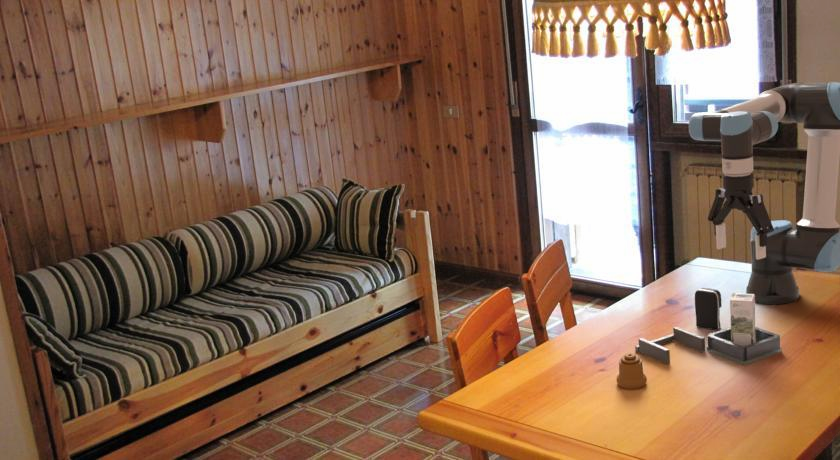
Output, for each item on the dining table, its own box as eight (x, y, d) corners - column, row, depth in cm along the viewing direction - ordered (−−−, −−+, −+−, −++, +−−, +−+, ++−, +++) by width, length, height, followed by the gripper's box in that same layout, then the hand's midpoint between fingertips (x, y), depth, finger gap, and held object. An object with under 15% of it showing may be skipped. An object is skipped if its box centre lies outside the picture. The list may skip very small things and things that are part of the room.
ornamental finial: (652, 381, 236) (637, 392, 231) (626, 376, 241) (611, 386, 236) (650, 352, 234) (635, 363, 229) (624, 347, 239) (609, 357, 234)
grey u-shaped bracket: (673, 338, 262) (672, 325, 261) (705, 351, 251) (704, 337, 250) (635, 351, 256) (634, 337, 255) (666, 364, 245) (665, 350, 244)
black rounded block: (724, 326, 266) (722, 288, 263) (717, 331, 263) (716, 292, 260) (701, 322, 271) (700, 285, 268) (695, 327, 268) (693, 289, 265)
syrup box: (756, 344, 249) (755, 292, 245) (753, 352, 244) (752, 300, 240) (734, 342, 251) (732, 292, 248) (731, 351, 246) (729, 299, 243)
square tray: (743, 337, 256) (743, 322, 255) (781, 351, 245) (781, 335, 244) (706, 350, 251) (705, 335, 250) (743, 365, 239) (743, 349, 238)
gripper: (691, 170, 246) (695, 247, 252) (765, 182, 224) (767, 266, 230) (713, 165, 249) (716, 240, 255) (787, 176, 227) (789, 259, 233)
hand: (740, 253), depth 242 cm, fingers open, 13 cm apart
